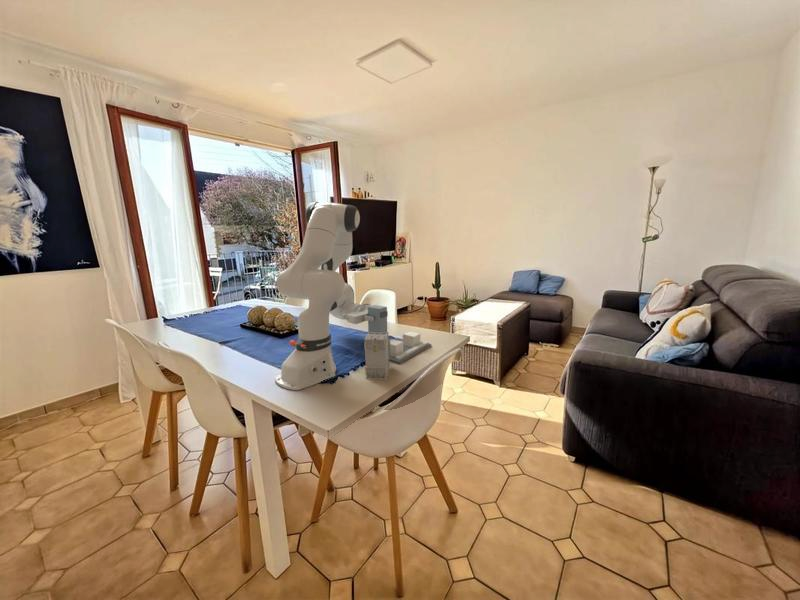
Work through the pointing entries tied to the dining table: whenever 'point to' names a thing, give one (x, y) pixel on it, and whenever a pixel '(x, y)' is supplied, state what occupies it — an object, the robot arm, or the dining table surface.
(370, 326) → the block
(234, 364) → the dining table surface
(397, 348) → the rail plate
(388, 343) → the circuit breaker
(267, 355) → the dining table surface
